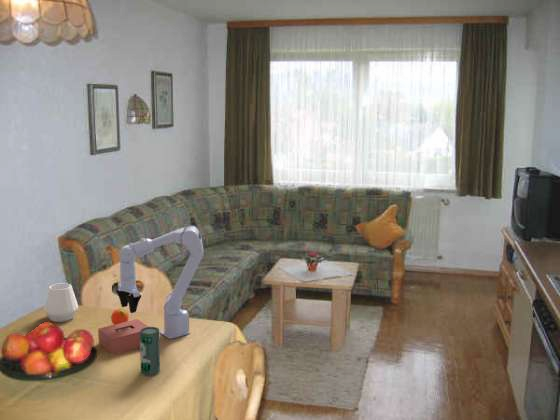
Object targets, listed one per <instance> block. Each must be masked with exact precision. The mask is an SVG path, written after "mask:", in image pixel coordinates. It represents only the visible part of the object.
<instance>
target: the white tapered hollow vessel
mask: <svg viewBox="0 0 560 420" xmlns="http://www.w3.org/2000/svg"><path fill="white" fill-rule="evenodd" d="M43 308H44V310H43V311H44V313H45V315H46V316H47V317H48V318H49V320H50V321H52V322H56V323H62V322H66V321H70V320H72V319H74V317H75V315H76V313H77V312H78V309H79V303H78V301H77V298H76V296H75V292H74V289H73V285H71V283H67V282H61V283H60V282H59V283H53V284H51V285H50V286H49V287H48V291H47V294H46V299H45V303H44V307H43Z"/></svg>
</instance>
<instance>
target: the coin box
mask: <svg viewBox="0 0 560 420" xmlns="http://www.w3.org/2000/svg"><path fill="white" fill-rule="evenodd" d="M129 327H130V328H131V329H130V330H126V331H122V332H117V330H121V329H125V328H129ZM145 327H149V326H148V325H147V324H145V323H144V322H143V321H141V320H140V319H138V318H137V319H133V320H128V321H127V322H123V323H119V324H115V325H114V324H112V325H111V324H110V325H107V326H103V327H99V328H98V330H97V333H98V344H99V345H100V346H101V347H102V348H103V349H105V350H106V351H107V352H109V354H111V355H115V354H119V353H123V352H126V351H130V350H133V349H137V348H140V330H141V329H143V328H145Z"/></svg>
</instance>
